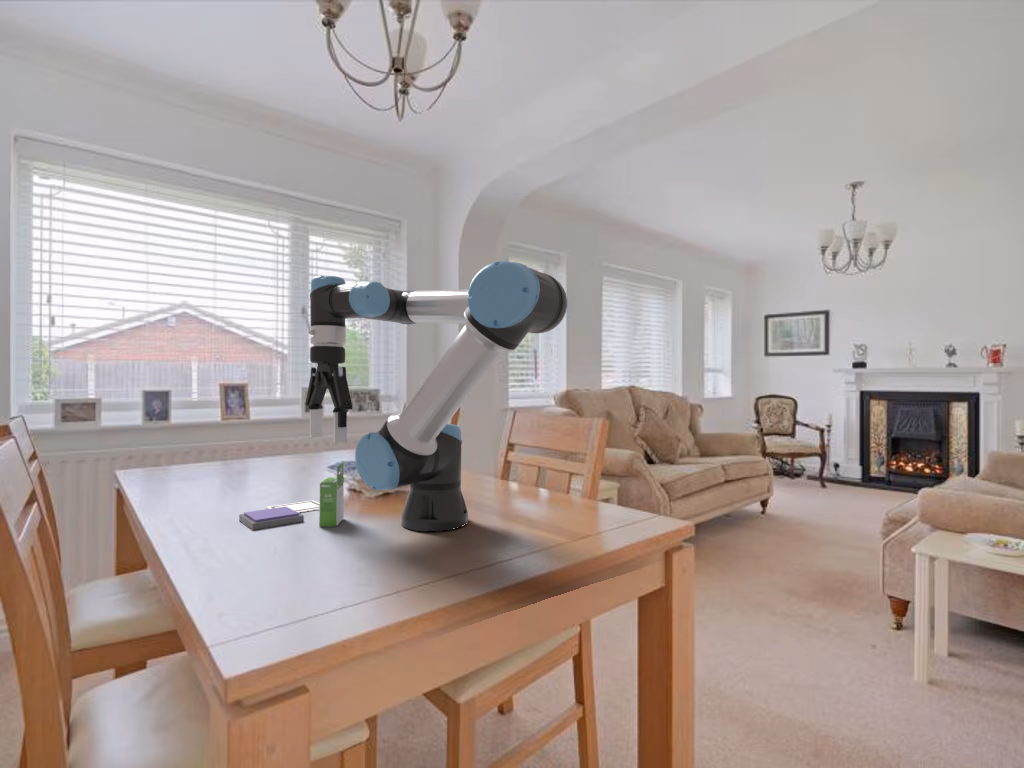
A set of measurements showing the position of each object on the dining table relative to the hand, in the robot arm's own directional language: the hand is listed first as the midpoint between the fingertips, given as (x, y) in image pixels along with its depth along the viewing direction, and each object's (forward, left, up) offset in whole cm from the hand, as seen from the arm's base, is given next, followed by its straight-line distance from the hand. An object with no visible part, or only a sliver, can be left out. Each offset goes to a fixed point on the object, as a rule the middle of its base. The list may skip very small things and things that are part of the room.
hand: (327, 439), depth 123 cm
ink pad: (+10, +9, -19) cm, 23 cm away
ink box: (0, -1, -19) cm, 19 cm away
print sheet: (+18, 0, -19) cm, 26 cm away
